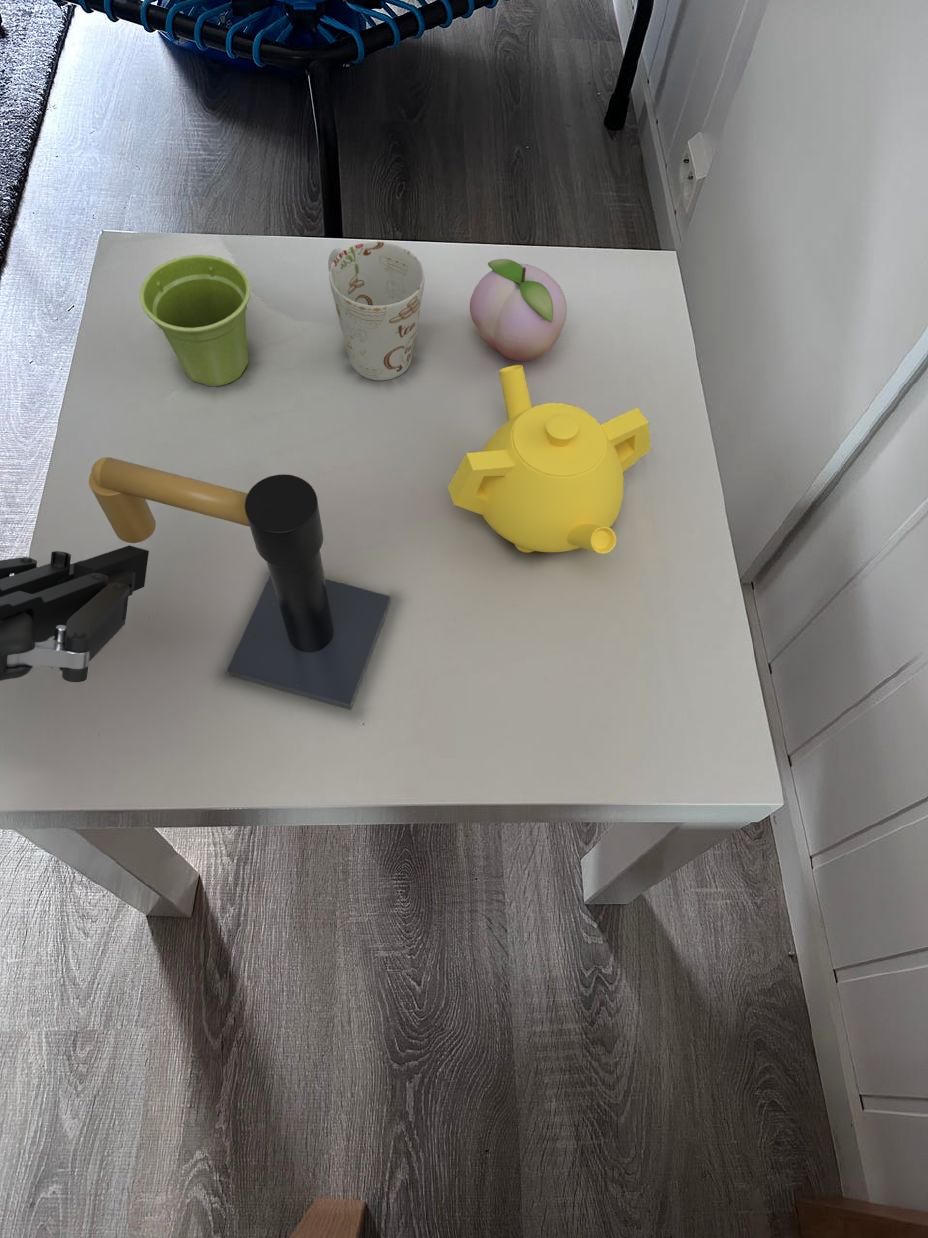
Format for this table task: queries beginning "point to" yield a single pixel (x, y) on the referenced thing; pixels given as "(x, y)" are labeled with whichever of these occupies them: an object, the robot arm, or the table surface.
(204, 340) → the plant pot
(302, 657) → the square base plate
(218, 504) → the spout
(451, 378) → the table surface
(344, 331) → the mug
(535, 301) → the decorative fruit
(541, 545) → the teapot
